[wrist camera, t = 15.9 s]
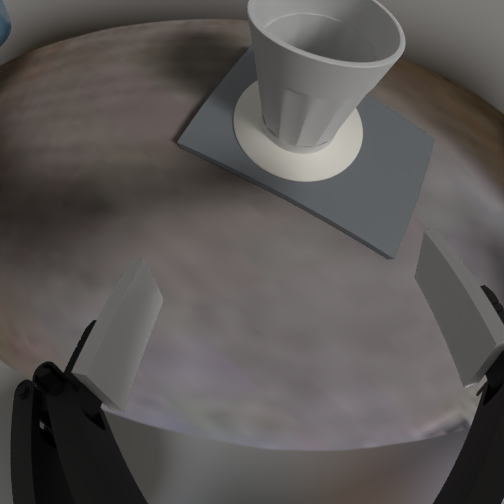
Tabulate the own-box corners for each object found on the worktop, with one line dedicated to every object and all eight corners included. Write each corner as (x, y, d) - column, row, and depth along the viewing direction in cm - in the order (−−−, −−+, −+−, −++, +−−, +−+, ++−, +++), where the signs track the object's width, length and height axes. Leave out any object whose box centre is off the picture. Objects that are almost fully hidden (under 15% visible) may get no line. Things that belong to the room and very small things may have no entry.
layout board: (180, 147, 23) (176, 141, 21) (252, 51, 23) (252, 42, 22) (387, 259, 22) (395, 258, 21) (428, 143, 23) (435, 138, 21)
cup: (266, 74, 22) (270, -33, 10) (352, 100, 22) (402, 6, 10) (238, 147, 21) (222, 39, 9) (336, 176, 21) (405, 94, 9)
